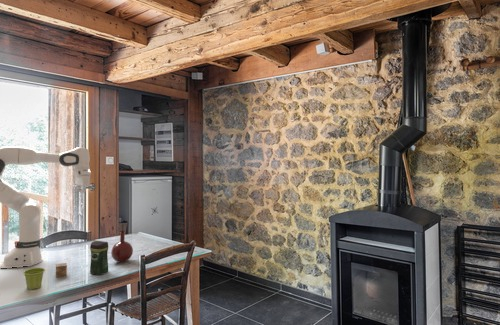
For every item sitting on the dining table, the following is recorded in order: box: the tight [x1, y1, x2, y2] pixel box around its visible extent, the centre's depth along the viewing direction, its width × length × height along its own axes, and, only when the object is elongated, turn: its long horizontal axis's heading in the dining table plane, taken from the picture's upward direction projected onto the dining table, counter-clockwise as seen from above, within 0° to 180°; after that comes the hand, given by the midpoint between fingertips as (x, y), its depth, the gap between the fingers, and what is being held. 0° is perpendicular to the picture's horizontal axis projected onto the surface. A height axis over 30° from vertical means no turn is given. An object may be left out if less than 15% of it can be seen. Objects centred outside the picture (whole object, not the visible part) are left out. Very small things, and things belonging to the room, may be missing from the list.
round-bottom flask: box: [110, 230, 134, 263], centre depth 214 cm, size 13×13×20 cm
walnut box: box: [55, 262, 68, 279], centre depth 188 cm, size 5×5×6 cm
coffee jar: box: [89, 240, 109, 276], centre depth 193 cm, size 10×8×19 cm
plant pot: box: [23, 267, 46, 290], centre depth 171 cm, size 9×9×9 cm
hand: (81, 192), depth 221 cm, fingers open, 8 cm apart
